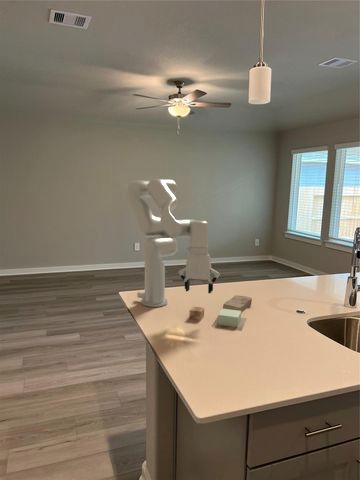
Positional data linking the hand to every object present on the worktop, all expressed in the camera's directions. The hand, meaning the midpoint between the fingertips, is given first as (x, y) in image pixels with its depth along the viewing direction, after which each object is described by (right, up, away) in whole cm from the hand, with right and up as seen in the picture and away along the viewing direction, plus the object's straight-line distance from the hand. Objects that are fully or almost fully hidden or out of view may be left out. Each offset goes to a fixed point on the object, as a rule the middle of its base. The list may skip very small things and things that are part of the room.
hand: (198, 291), depth 150 cm
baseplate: (+13, -13, -2) cm, 18 cm away
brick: (+19, -11, +17) cm, 28 cm away
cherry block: (-1, -12, +2) cm, 13 cm away
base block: (+13, -12, -2) cm, 18 cm away
